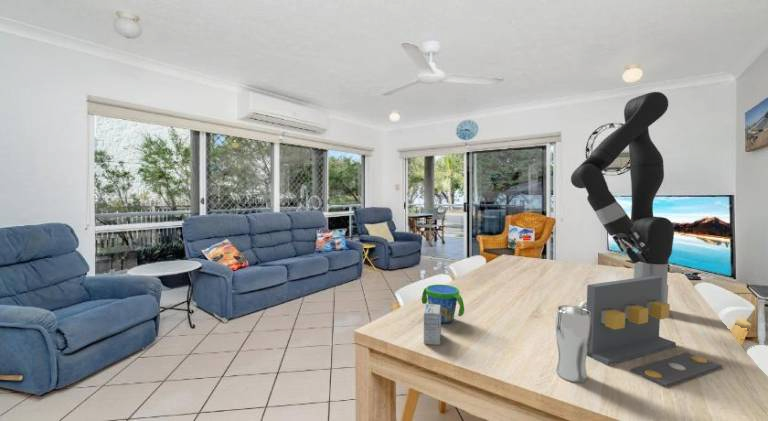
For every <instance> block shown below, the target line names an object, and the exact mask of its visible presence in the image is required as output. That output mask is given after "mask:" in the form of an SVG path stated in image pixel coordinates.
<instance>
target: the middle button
mask: <svg viewBox="0 0 768 421" xmlns="http://www.w3.org/2000/svg"><path fill="white" fill-rule="evenodd" d="M624 313H625V318H626V319H628V321H630V322H633V323H636V324H643V323H647V322H648V308H645V307H641V306H633V305H625V310H624Z"/></svg>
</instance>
